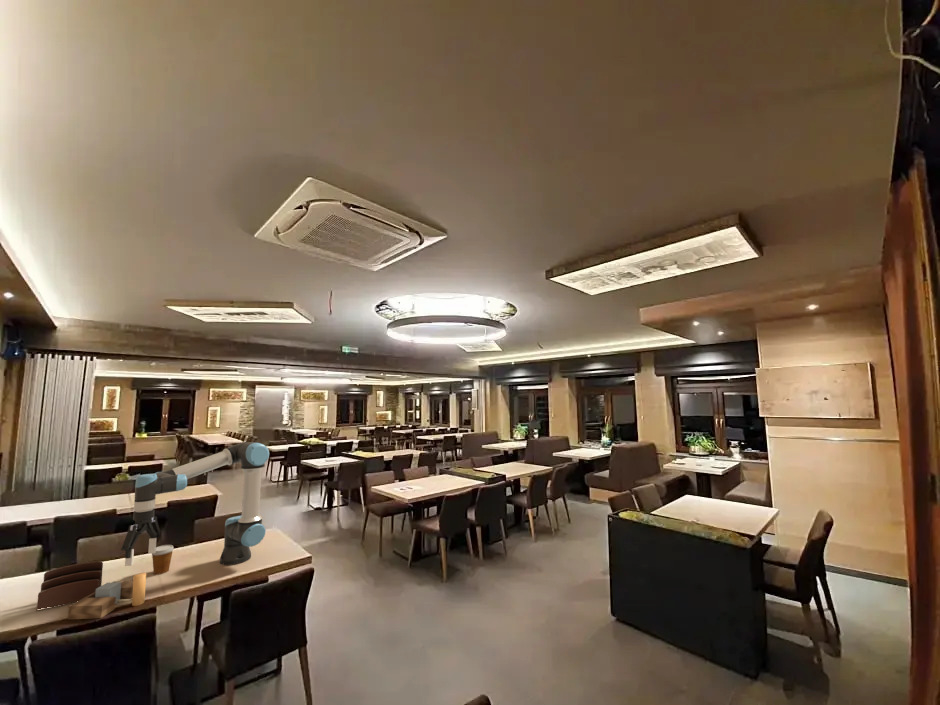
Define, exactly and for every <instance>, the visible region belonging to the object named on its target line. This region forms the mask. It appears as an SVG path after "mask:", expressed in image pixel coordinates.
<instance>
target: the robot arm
mask: <svg viewBox="0 0 940 705" xmlns="http://www.w3.org/2000/svg"><path fill="white" fill-rule="evenodd" d="M269 457H270V451H269V448H268V447H267V446H266V445H265V444H263V443H260V442H254V441H253V442H250V441H244V442H240V443H237V444H234V445H231V446H229V447H227V448H224V449H223V450H222V451H219V452H217V453H214V454H211V455H208V456H206V457H205V456H204V457H203V458H200V459H197V460H195V461H192V462H188V463H186V464H183V465H179V466H177V467H173V468H171V469H168V470H165V471H157V472H155V473H146V474H141V475H138V476H137V477H136V479H135V484H134V501H133V502H134V503H133V505H134V506H133V513H132V514H133V515H132V520H133V521H134V522H135V523H134V524H133V525H132V524H131V525H129V526H128V531H127V533H126V536H125V539H124V540H123V543H122V545H121V548H120V550H121V551H125V556H124V560H125V561H124V566H125V567H130V566H131V567H132V566H133V564H134V553H135V552H134V551H135V549H134V546H135V544H136V542H138V539H139V537H140V535H142V533H144V532H145V531H146V533H147V534H148V536H149V537H150V538H149V540H148V554H151V553H156V547H157V540H158V538H160V535H161V534H162V533H161V529H160V526H159V523H158V517H157V516H155V511H156V510H155V507H156V498H157V497H156V495H161V494H167V493H173V492H179V491H184V490H185V489H186V488H187V486H188V480H189V479H191V478H192V479H193V478H194V477H197V476H199V475H202V474H204V473H207V472H210V471H213V470H215V469H218V468H221V467H223V466H227V465H228V466H232V465H234V464H240V470H242V471H243V480H242V481H243V483H242V484H243V485H242V499H241V500H242V501H241V514H240V515H237V516H232V517H229V518H227V519H226V520H225V523H224V542H223V543H224V546H223V549H222V552H221V555H220V557H219V564H220V565H223V566H231V565H233V566H234V565H238V564H242V563H245V562H247V561H249V560H250V559H251V557H252V550H251V547H255V546H257V545H259V544H260V543H261V542H262V541H263V539H264V538H265V536H266V532H267V530H266V527H265V526H264V525H263V517H262V516H261V514H260V506H261V489H262V488H261V487H262V486H261V484H262V470H264V468H265V467H266V466H265V464H266V462H267V461H268V460H269Z"/></svg>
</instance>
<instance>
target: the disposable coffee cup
mask: <svg viewBox="0 0 940 705" xmlns="http://www.w3.org/2000/svg"><path fill="white" fill-rule="evenodd" d="M174 548H175V547H174V545H172V544H163V545H160V546H156V553H150V554H151V558H152V569H153V574H154V575H162V574H165V573H168V572H169V571H170V566H171V561H172V555H173V552H174Z"/></svg>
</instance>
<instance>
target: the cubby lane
mask: <svg viewBox="0 0 940 705" xmlns="http://www.w3.org/2000/svg"><path fill="white" fill-rule="evenodd" d="M112 582H121V594H120V599H132V593H133V580H120V581H118V580H117V581H112ZM95 593H96V591H95V592H94V593H92V594H90V595H88V596H87V597H85V598H83V599H81V600H79V601H78V602H74V603H71V604H70V605H69V606H68V611H67V620H83V619H102V618H103V617H105V616H107V615H108V614H109V613H111V612H113V611H114V610H115V609H116V604H115V601H116V597H98V598H95Z"/></svg>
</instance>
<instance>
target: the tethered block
mask: <svg viewBox="0 0 940 705" xmlns="http://www.w3.org/2000/svg"><path fill="white" fill-rule="evenodd" d="M132 579H133V580H132V581H133V593H132V598H131V599H120V594H121V582H113V581H111V582H106V583H103V585H102V584H101V586H100V587H99V588H97V589H96V593H95V598H98V597H116V601H115V605H116V604H117V603H120V602H122V603H123V602H131V606H133V607H137V606H141V605H143V604H144V603H145V601H146V600H145V599H146V585H147V573H146V572H139V573H136V574H134V575H133V578H132Z"/></svg>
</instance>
